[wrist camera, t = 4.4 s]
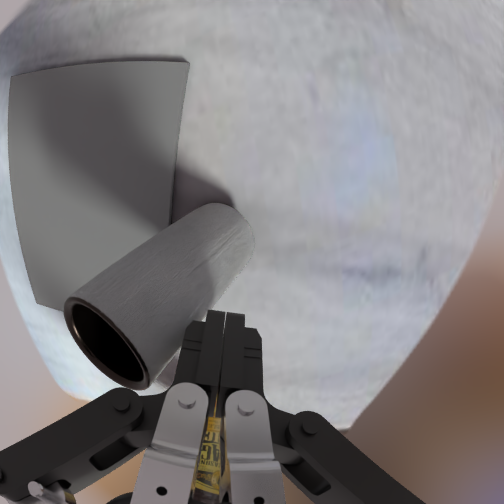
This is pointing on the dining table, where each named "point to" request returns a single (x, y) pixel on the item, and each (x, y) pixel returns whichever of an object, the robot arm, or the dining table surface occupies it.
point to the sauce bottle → (209, 465)
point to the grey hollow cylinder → (158, 294)
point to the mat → (91, 166)
